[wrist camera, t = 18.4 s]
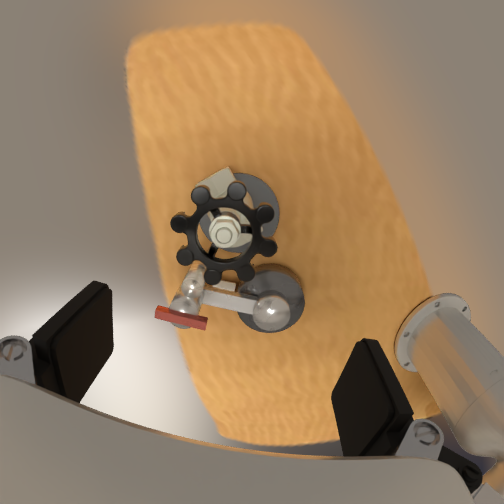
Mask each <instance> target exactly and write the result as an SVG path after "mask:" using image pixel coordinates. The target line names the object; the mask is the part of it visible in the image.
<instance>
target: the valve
mask: <svg viewBox="0 0 504 504" xmlns="http://www.w3.org/2000/svg"><path fill="white" fill-rule="evenodd" d="M191 199H192V201H193V202H194V203H195V204H196V205H197V210H196V211H195V213H194V214H193V215H192V216H187V215H185V212H178V213H177V214H176V215H175V216H174V217H173V218H172V219H171V222H170V225H171V228H172V229H173V230H174V231H175V232H177V233H185V234H186V235H187V239H188V245H187V246H184V245H183V246H181V247H180V249H179V251H178V252H177V255H176V258H177V261H178V262H179V263H180V264H181V265H184V266H188V265H190V264H192V263H193V261H195V260H198V261H200V262H202V263H203V264H204V265H205V266H206V269H205V272H204V280H205V282H206V283H207V284H209V285H217V284H218V283H219V282H220V281H221V278H222V272H223V271H225V270H235V271H236V272H237V276H238V278H239V279H240V280H241V281H243V282H249V281H251V280H252V279H254V277H255V267H254V264H251V263H250V261H251V259H252V258H253V257H254V256H255V255H256V254H262V255H263V256H265V257H271V256H273V255H274V254H275V253H276V252H277V248H278V247H277V244H276V241H275V239H274V238H273V237H272V236H269V237H264V236H262V234H261V233H262V231H263V228H262V225H263V224H264V223H269V222H271V221H272V220H273V218H274V216H275V212H274V209H273V207H272V206H271V205H270V204H269V203H267V202H261V203H259V205H258V206H257V207H256V208H254V207H253V202H252V199H251V196H250V195H249V193H248V192H247V190H246V186H245V184H244V183H243V182H241V181H238V180H236V178H235V177H234V175H233V173H232V171H231V169H230V168H229V166H227V167H225V168H223V169H222V170H220V171H218V172H216V173H214V174H213V175H211V176H209V177H207V178H206V179H204V180H202V181H200V182H199V183H197V184H196V185H195V188H194V189H193V191H192V193H191ZM206 213H207V214H208V216H209V218H210V221H211V225H210V227H209V235H210V238H211V239H212V241H213V242H212V243H211V245H210V247H209V249H208V251H207V252H206V251H205V250H204V249H203V248H202V247H201V245H200V243H199V240H198V235H197V229H198V224H199V222H200V220H201V218H202V217H203V216H204V215H205V214H206ZM250 241H251V242H250ZM248 242H250V244H249V246H248V248H247V249H246V250H245V251H244V252H243V253H242V254H240V255H239V256H237V257H234V258H231V259H219V258H216V257H215V254H216V252H217V250H218V248H232V247H239V246H242V245H244V244H246V243H248Z"/></svg>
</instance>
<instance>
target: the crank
mask: <svg viewBox="0 0 504 504" xmlns="http://www.w3.org/2000/svg"><path fill="white" fill-rule="evenodd" d="M181 285H182V284H181ZM181 285H180V287H179V288H178V290H177V292H176V294H175V296H174V298H173V300H172V302H171V304H170V307H169V308H166V307H162V306H157V308H156V311H155V318H157V319H161V320H165V321H169V322H171V323H172V324H173V325H174V326H176V327H178V328H182V329H187V328H190V327H193V328H197V329H201V330H205V329H206V325H207V320H208V318H207V317H203V316H199V315H198V314H199V311H200V308H201V305H202V304H207V305H211V306H215V307H220V308H224V309H229V310H233V311H238V312H243V313H247V314H252V315H253V320H254V322H255V324H256V325H257V326H258V327H260V328H261V329H263V330H267V331H275V330H279V329H281V328H283V327H284V326H285V325H286V324H287V323H288V321H289V319H290V309H289V304H288V300H287V298H286V297H285V296H284V295H283V294H282V293H280V292H278V291H273V290H270V291H265V292H262V293H261V294H259V295H258V296H257V297H256V296H252V295H247V294H243V293H238V292H234V291H229V290H225V289H220V288H216V287H211V286H207V285H204V287H203V290H202V293H201V295H200V296H199V297H197V298H188V297H186V296H185V295H184V294H183V293H182V290H181Z"/></svg>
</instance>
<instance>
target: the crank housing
mask: <svg viewBox="0 0 504 504" xmlns="http://www.w3.org/2000/svg"><path fill="white" fill-rule="evenodd" d="M205 269H206V266H205V265H204V264H203V263H202V262H200V261H198V260H195V261H193V263H192V265H191V267H190V269H189V271H188V273H187V275H186V277H185V279H184V281H183V283H182V285H181V290H182V293H183V294H184V295H185V296H186V297H188V298H197V297H199V296H200V295H201V293H202V290H203V287H204V284H205V280H204V272H205ZM235 286H236V283H234V282H229V281H224V280H221V281H220V282H219V283H218V284H217V285H213V287H216V288H220V289H225V290H229V291H235ZM270 290H273V291H278V292H280V293H282V294H283V295H284V296H285V297H286V298H287V300H288V304H289V309H290V319H289V321H288V323H287V324H286V325H285V326H284V327H283V328H281V329H279V330H275V331H267V330H263V329H261V328H260V327H258V326H257V325H256V324H255V322H254V320H253V315H252V314H247V313H243V312H238V311H237V312H238V315H239V317H240V318H241V320H242V321H243V322H244V323H245V324H246V325H247V326H249V327H250V328H252V329H254V330H256V331H259V332H265V333H274V332H280V331H283V330H285V329H287V328H289V327H291V326H292V325H293V324H295V323H296V322H297V321H298V319H299V318H300V316H301V315H302V313H303V310H304V305H305V299H304V294H303V291H302V288H301V285H300V282H299V280H298V278H297V277H296V275H295V274H294V273H293V272H292V271H291V270H289V269H288V268H286V267H284V266H281V265H277V264H263V265H259V266H257V267H255V277H254V279H252V280H251V281H249V282H243V281H240V283H239V286H238V291H237V292H238V293H243V294H247V295H252V296H256V297H257V296H258V295H259V294H261V293H262V292H265V291H270Z"/></svg>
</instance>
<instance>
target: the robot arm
mask: <svg viewBox="0 0 504 504" xmlns="http://www.w3.org/2000/svg"><path fill="white" fill-rule="evenodd" d="M112 318H113V317H112V290H111V289H109V287H108V285H107V284H104V283H101V282H98V281H92V282H91V283H90V284H89V285H88V286H87V287H85V288H84V289H83V290H82V291H81V292H80V293H78V294H77V295H76V296H75V297H74V298H73V299H71V300H70V301H69V302H68V303H67V304H66V305H65V306H64V307H62V308H61V309H60V310H59V311H58V312H57V313H56V314H55V315H54V316H53V317H51V318H50V319H49V320H48V321H47V322H46V323H45V324H44V325H43V326H42V327H41V328H40V329H39V330H37V331H36V333H34V334H33V335H32V336H33V338H32V339H31V340H30V341H29V342H28V340H27V339H25V338H23V337H20V336H7V337H4V338H2V339H1V340H0V504H504V357H503V356H502V355H501V354H500V353H499V351H497V349H496V348H495V347H494V346H493V345H492V344H491V343H490V342H489V341H488V340H487V339H486V338H485V337H484V335H482V334H481V332H480V331H478V329H477V328H476V327H475V326H474V325H473V324H472V323H471V322H470V321H471V314H470V309H469V306H468V304H467V303H466V302H465V300H463V299H462V298H461V297H460V296H458V295H456V294H452V293H443V294H440V295H436V296H434V297H432V298H429V299H428V300H426V301H425V302H423V303H422V304H420V305H419V306H418V307H417V308H416V309H414V310H413V312H412V313H411V314H410V315H409V316H408V317H407V319H406V320H405V321H404V323H403V324H402V326H401V328H400V330H399V332H398V334H397V337H396V341H395V355H396V358H397V360H398V362H399V364H400V365H401V366H402V367H403V368H404V369H406V370H408V371H411V372H418V373H419V375H420V376H421V378H422V380H423V381H424V383H425V385H426V386H427V388H428V390H429V391H430V393H431V395H432V397H433V398H434V400H435V402H436V403H437V405H438V407H439V409H440V410H441V412H442V414H443V416H444V417H445V419H446V421H447V423H448V425H449V427H450V428H451V430H452V432H453V434H454V436H455V437H456V439H457V441H458V443H459V445H460V446H461V447H462V448H463V449H464V450H465V451H467V452H468V453H470V454H473V455H477V456H487V457H494V458H495V459H496V460H497V461H496V464H495V465H494V466H493V467H492V468H491V469H490V470H489V471H488V472H486V474H485V475H483V476H482V472H481V470H480V469H479V467H478V466H477V465H476V464H474V463H473V462H471V461H469V460H467V459H465V458H464V457H462V456H460V455H458V454H456V453H455V452H453V451H451V450H450V449H448V448H446V447H444V446H443V441H444V436H443V433H442V431H441V429H440V428H439V427H438V426H437V425H436V424H435V423H433V422H432V421H429V420H427V419H416V420H415V421H414V420H413V417H412V415H413V414H414V412H413V410H412V408H411V406H410V404H409V402H408V400H407V397H406V395H405V393H404V391H403V389H402V387H401V385H400V383H399V381H398V379H397V377H396V375H395V373H394V371H393V369H392V367H391V365H390V363H389V361H388V359H387V357H386V355H385V354H384V352H383V350H382V348H381V346H380V344H379V342H378V341H377V340H373V339H366V338H363V339H362V340H361V341H358V342H357V343H356V344H355V346H354V349H353V351H352V353H351V355H350V357H349V359H348V361H347V363H346V365H345V368H344V370H343V372H342V374H341V376H340V378H339V380H338V382H337V384H336V385H335V387H334V389H333V391H332V396H331V400H332V404H333V409H334V413H335V418H336V423H337V427H338V432H339V437H340V441H341V446H342V451H343V456H309V455H294V454H282V453H272V452H263V451H255V450H248V449H241V448H235V447H229V446H223V445H218V444H212V443H207V442H203V441H198V440H193V439H189V438H185V437H181V436H177V435H172V434H169V433H165V432H161V431H158V430H154V429H151V428H147V427H144V426H141V425H138V424H134V423H131V422H128V421H125V420H122V419H119V418H117V417H113V416H111V415H108V414H106V413H103V412H100V411H97V410H95V409H92V408H90V407H87V406H85V405H82V404H80V401H81V399H82V398H83V397H84V395H85V393H86V392H87V390H88V389H89V387H90V386H91V384H92V383H93V381H94V380H95V378H96V377H97V375H98V374H99V372H100V370H101V369H102V367H103V366H104V364H105V363H106V362H107V360H108V359H109V357H110V356H111V354H112V352H113V347H114V343H113V319H112Z"/></svg>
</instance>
